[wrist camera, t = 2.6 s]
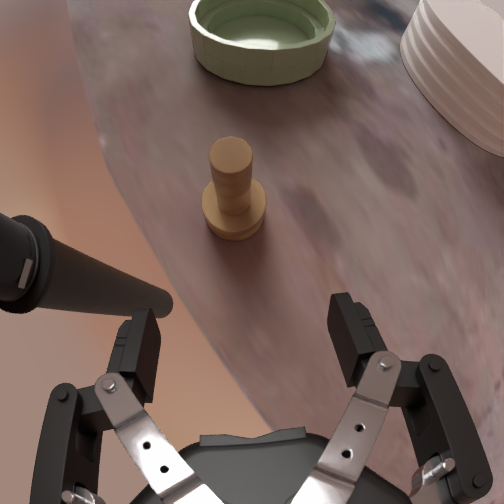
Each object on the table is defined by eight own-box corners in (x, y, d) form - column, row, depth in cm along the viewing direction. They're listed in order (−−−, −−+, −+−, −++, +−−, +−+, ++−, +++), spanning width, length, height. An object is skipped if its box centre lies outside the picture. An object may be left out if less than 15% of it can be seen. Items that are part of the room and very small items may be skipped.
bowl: (206, 101, 33) (201, 61, 26) (186, 22, 36) (181, -11, 30) (345, 81, 34) (360, 46, 28) (298, 9, 38) (303, -22, 31)
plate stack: (391, 10, 40) (410, -34, 28) (505, 68, 39) (531, 37, 28) (408, 116, 33) (449, 59, 22) (540, 182, 33) (585, 154, 22)
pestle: (212, 247, 29) (195, 204, 18) (199, 193, 30) (180, 130, 19) (271, 232, 30) (286, 182, 19) (255, 180, 31) (261, 112, 20)
